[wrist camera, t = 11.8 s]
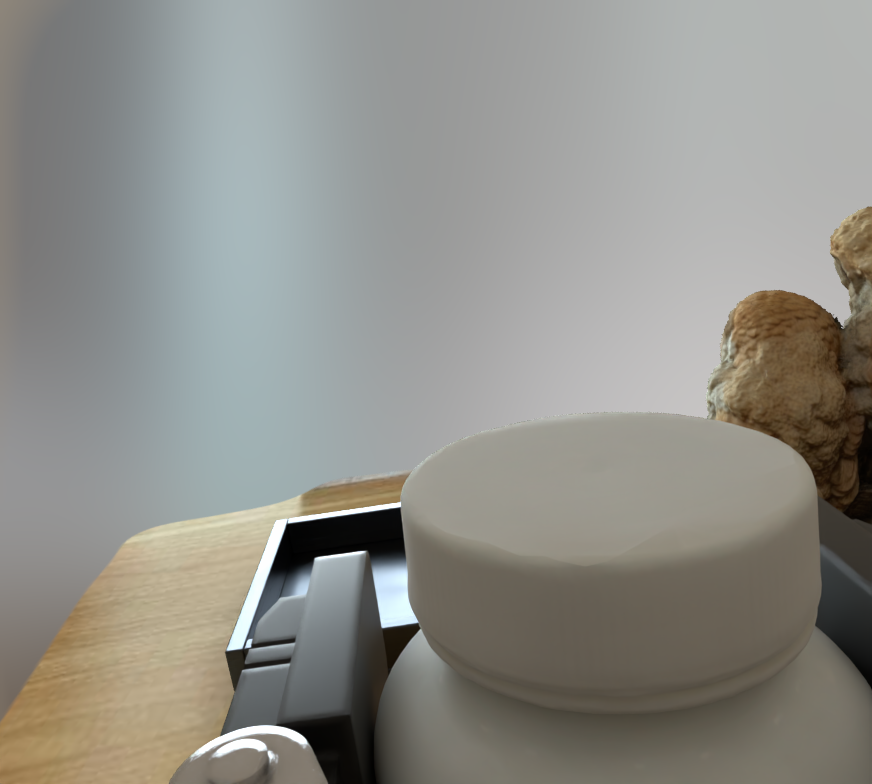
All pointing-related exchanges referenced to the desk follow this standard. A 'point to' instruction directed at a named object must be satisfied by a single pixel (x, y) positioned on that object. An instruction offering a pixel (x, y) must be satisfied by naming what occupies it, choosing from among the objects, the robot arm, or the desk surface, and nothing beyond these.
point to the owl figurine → (808, 374)
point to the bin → (325, 536)
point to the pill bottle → (618, 613)
